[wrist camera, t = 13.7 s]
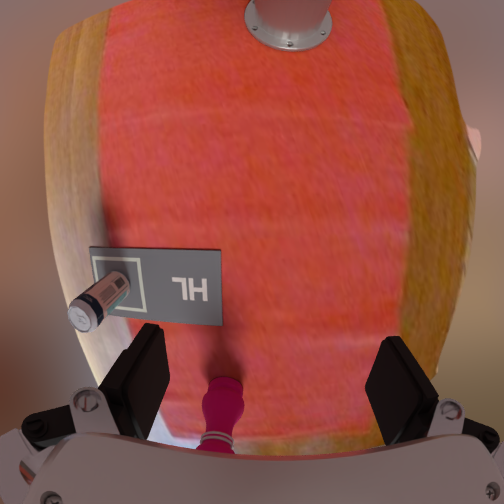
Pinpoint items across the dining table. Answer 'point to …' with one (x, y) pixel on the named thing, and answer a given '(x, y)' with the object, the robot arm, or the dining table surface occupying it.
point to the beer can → (98, 301)
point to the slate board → (165, 283)
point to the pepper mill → (221, 414)
